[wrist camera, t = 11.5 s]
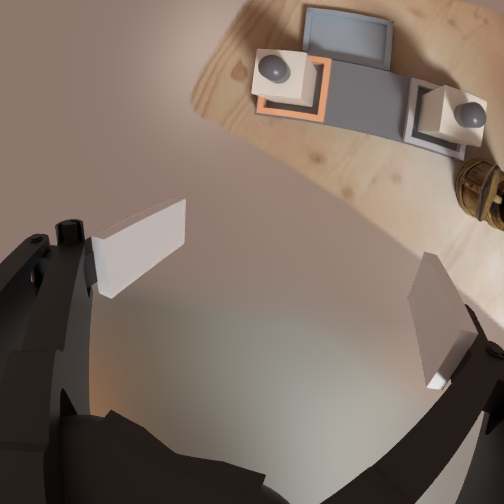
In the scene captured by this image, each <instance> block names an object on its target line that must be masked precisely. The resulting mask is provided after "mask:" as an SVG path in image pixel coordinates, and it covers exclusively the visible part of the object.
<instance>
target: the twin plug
mask: <svg viewBox="0 0 504 504" xmlns="http://www.w3.org/2000/svg"><path fill="white" fill-rule="evenodd" d="M486 105H487V102H486V101H484V100H482V99H480V98H477V97H475V96H473V95H470V94H468V93H465V92H463V91H460V90H458V89H455V88H453V87H450V86H447V85H444V86H441V87H439V88H437V89H435V90H433V91H431V92H428V93H426V94H424V95H422V101H421V109H420V116H419V123H418V129H417V131H418V132H421V133H424V134H427V135H430V136H433V137H436V138H439V139H442V140H445V141H448V142H451V143H458V144H465V145H471V146H477V147H481V143H482V137H483V130H484V124H485V122H486Z"/></svg>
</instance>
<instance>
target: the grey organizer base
mask: <svg viewBox="0 0 504 504" xmlns="http://www.w3.org/2000/svg"><path fill="white" fill-rule="evenodd" d="M308 56H309V55H308ZM309 58H310V60H311V62H312V64H313V65H314V67H315V69H316V71H317V74H316V82H315V90H314V97H313V105H312V107H307V106H300V105H293V104H286V103H278V102H273V101H270V100H268V99H265V98H262V97H260V96H257V97H256V105H255V113H254V114H257V115H264V116H272V117H280V118H287V119H294V120H300V121H306V122H312V123H318V124H323V125H329V126H334V127H339V128H344V129H349V130H353V131H358V132H362V133H366V134H371V135H375V136H379V137H383V138H387V139H390V140H394V141H398V142H401V143H405V144H408V145H412V146H415V147H418V148H422V149H425V150H428V151H431V152H434V153H437V154H440V155H443V156H446V157H449V158H452V159H455V160H458V161H461V162H464V158H465V153H466V147H467V145H465V144H458V143H451V142H448V141H445V140H442V139H439V138H436V137H433V136H430V135H427V134H424V133H421V132H418V131H417V129H418V123H419V116H420V109H421V101H422V95H424V94H426V93H428V92H431V91H433V90H435V89H437V88H439V87H441V86H439V85H436V84H433V83H430V82H427V81H424V80H421V79H418V78H414V77H412V78H410V77H407V76H403V75H400V74H396V73H392V72H388V71H384V70H380V69H376V68H372V67H367V66H362V65H357V64H352V63H347V62H341V61H335V60H332V59H330V58H324V57H317V56H309Z"/></svg>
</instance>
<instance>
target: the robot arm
mask: <svg viewBox="0 0 504 504" xmlns="http://www.w3.org/2000/svg"><path fill="white" fill-rule="evenodd" d="M185 204H186V199H185V198H179V197H172V198H170V199H168V200H166V201H163V202H161V203H159V204H156V205H154V206H152V207H150V208H147V209H145V210H143V211H141V212H139V213H137V214H135V215H132V216H130V217H128V218H126V219H124V220H122V221H120V222H118V223H116V224H114V225H112V226H110V227H108V228H106V229H104V230H101V231H100V232H98V233H96V234H94V235H92V236H91V237H90V238H88V239H86V240H85V237H84V229H83V221H81V220H77V219H70V220H65V221H62V222H60V223H58V224H56V226H55V229H56V236H57V243H58V244H57V246H55V245H50V243H49V237H48V235H46V234H34V235H32V236H31V237H28V238H27V239H25V240H24V241H23V242H22V243H21V244H20V245H19V246H18V247H17V248H16V249H15V250H14V251H13V252H12V253H11V254H10V255H9V256H8V257H7V258H5V260H3V261H2V263H1V264H0V504H290V503H289V502H288V501H287V500H286V499H284V498H283V497H282V496H281V495H280V494H278V493H277V492H275V491H274V490H272V489H271V488H269V487H267V486H265V485H264V484H263V482H264V479H265V476H266V475H265V474H261V473H257V472H254V471H251V470H247V469H244V468H241V467H238V466H235V465H232V464H229V463H226V462H223V461H215V460H208V459H202V458H196V457H190V456H184V455H180V454H177V453H175V452H173V451H172V450H171V449H169V448H168V447H166V446H165V445H164V444H163V443H162V442H160V441H159V440H158V439H157V438H155V437H154V436H153V435H152V434H151V433H149V432H148V431H147V430H146V429H145V428H144V427H142V426H140V425H138V424H136V423H134V422H132V421H130V420H128V419H127V418H125V417H123V416H121V415H120V414H118V413H116V412H114V411H113V410H110V412H109V413H108V414H107V415H106V416H105V418H104V417H99V416H94V415H90V409H89V339H90V321H91V307H92V297H93V291H92V285H93V284H94V283H96V282H97V283H98V289H99V293H100V294H102V295H104V296H107V297H109V298H113V297H114V296H115V295H117V294H118V293H119V292H120V291H122V290H123V289H124V288H126V287H127V286H128V285H130V284H131V283H132V282H133V281H135V280H136V279H137V278H139V277H140V276H141V275H143V274H144V273H145V272H146V271H148V270H149V269H151V268H152V267H153V266H154V265H156V264H157V263H159V262H160V261H161V260H163V259H164V258H165V257H166V256H168V255H169V254H171V253H172V252H173V251H175V250H176V249H177V248H179V247H180V246H182V245H183V244H184V236H185ZM31 277H32V281H33V282H32V281H31ZM408 301H409V305H410V309H411V313H412V317H413V321H414V326H415V330H416V334H417V339H418V344H419V349H420V354H421V359H422V365H423V370H424V377H425V383H426V387H427V388H432V389H440V390H443V388H444V387H445V385H446V384H447V383H448V381H449V380H450V379H451V383H452V384H451V385H450V386H449V387H448V389H447V390H446V391H445V392H444V394H443V395H442V396H441V397H440V398H439V399H438V401H437V402H436V403H435V404H434V405H433V407H432V408H431V409H430V410H429V411H428V412H427V413H426V415H424V417H423V418H422V419H421V420H420V421H419V422H418V423H417V424H416V425H415V426H414V427H413V428H412V429H411V430H410V431H409V432H408V433H407V434H406V435H405V437H403V438H402V439H401V440H400V441H399V442H398V443H397V444H396V445H395V446H394V447H393V448H392V449H391V450H390V451H389V452H388V453H387V454H385V455H384V456H383V457H382V458H381V459H380V460H379V461H377V462H376V463H375V464H374V465H373V466H371V467H369V468H368V469H367V470H365V471H364V472H362V473H361V474H360V475H359V476H357V477H356V478H355V479H354V480H352V481H351V482H350V483H348V484H347V485H346V486H344V487H343V488H342V489H340V490H339V491H338V492H336V493H335V494H333V495H332V496H331V497H329V498H328V499H326V500H325V501H323V502H322V503H320V504H415V503H416V502H417V500H418V499H419V498H420V497H421V496H422V495H423V493H424V492H425V491H426V490H427V489H428V488H429V486H430V485H431V484H432V483H433V482H434V480H435V479H436V478H437V477H438V475H439V474H440V473H441V471H442V470H443V469H444V468H445V466H446V465H447V464H448V462H449V461H450V459H451V458H452V457H453V455H454V454H455V452H456V451H457V450H458V448H459V447H460V445H461V443H462V442H463V441H464V439H465V437H466V436H467V434H468V433H469V431H470V430H471V428H472V426H473V425H474V423H475V421H476V420H477V418H478V416H479V415H480V413H481V411H484V417H483V421H482V425H481V429H480V433H479V437H478V441H477V444H476V448H475V451H474V455H473V458H472V461H471V464H470V467H469V470H468V473H467V476H466V478H465V481H464V484H463V486H462V489H461V491H460V494H459V496H458V499H457V501H456V504H504V350H503V349H502V348H501V347H500V346H499V345H498V344H496V343H494V342H492V341H488V340H487V338H486V335H485V334H484V331H483V329H482V327H481V326H480V323H479V321H478V320H477V317H476V315H475V313H474V311H472V309H471V308H470V307H469V306H468V305H466V304H464V303H463V301H462V299H461V297H460V295H459V293H458V291H457V289H456V288H455V286H454V284H453V282H452V280H451V279H450V277H449V275H448V273H447V271H446V270H445V268H444V266H443V265H442V263H441V261H440V259H439V258H438V256H437V255H434V254H431V253H427V252H424V254H423V257H422V260H421V263H420V266H419V269H418V272H417V274H416V277H415V280H414V283H413V285H412V288H411V291H410V293H409V295H408Z"/></svg>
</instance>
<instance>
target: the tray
mask: <svg viewBox="0 0 504 504" xmlns="http://www.w3.org/2000/svg"><path fill="white" fill-rule="evenodd" d="M392 36H393V21H389V20H384V19H380V18H375V17H371V16H366V15H360V14H355V13H349V12H343V11H336V10H328V9H320V8H309V7H307V12H306V21H305V29H304V38H303V46H302V52H306V53H307V54H308V55H309V56H317V57H324V58H330V59H332V60H335V61H341V62H347V63H352V64H357V65H362V66H367V67H372V68H376V69H380V70H384V71H388V72H389V71H390V62H391V50H392Z"/></svg>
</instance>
